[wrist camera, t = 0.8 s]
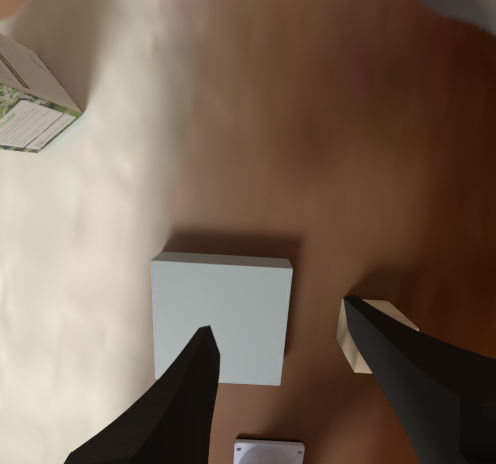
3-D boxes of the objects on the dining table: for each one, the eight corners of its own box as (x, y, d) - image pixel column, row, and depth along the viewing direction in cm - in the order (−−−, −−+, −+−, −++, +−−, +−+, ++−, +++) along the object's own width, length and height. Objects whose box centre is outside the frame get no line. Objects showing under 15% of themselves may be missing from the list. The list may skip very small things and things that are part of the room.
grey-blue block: (276, 361, 25) (280, 385, 23) (165, 355, 25) (155, 378, 22) (287, 257, 23) (292, 268, 20) (163, 249, 23) (150, 260, 20)
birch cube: (378, 339, 24) (407, 375, 20) (335, 337, 24) (354, 372, 20) (387, 300, 23) (419, 328, 19) (342, 297, 23) (363, 325, 19)
